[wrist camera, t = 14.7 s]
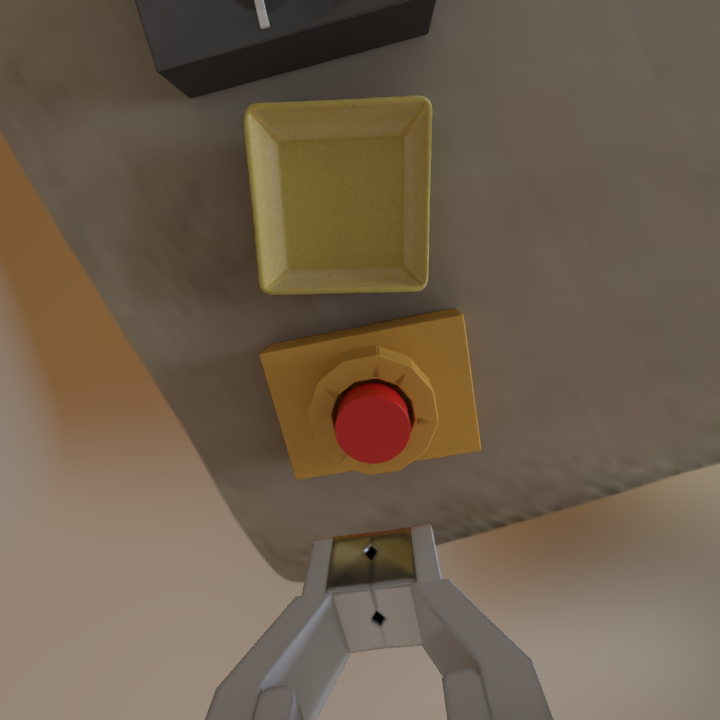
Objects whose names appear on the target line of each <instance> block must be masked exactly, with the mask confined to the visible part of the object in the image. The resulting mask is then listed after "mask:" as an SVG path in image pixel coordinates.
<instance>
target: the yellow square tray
mask: <svg viewBox="0 0 720 720" xmlns="http://www.w3.org/2000/svg"><path fill="white" fill-rule="evenodd" d="M432 111H433V108H432V104H431V102H430V101H429V99H427V98H426V97H424V96H416V95H414V96H399V97H374V98H360V99H339V100H318V101H317V100H316V101H294V102H292V101H287V102H265V103H262V102H259V103H252V104H250V105H249V106H248V107H247V108H246V110H245V112H244V117H243V125H244V136H245V145H246V153H247V164H248V172H249V184H250V193H251V203H252V210H253V224H254V231H255V245H256V254H257V265H258V277H259V287H260V288H261V290H262V291H263V292H264V293H266V294H270V295H288V294H289V295H294V294H331V293H374V292H418V291H421V290H422V289H424V288H425V286H426V285H427V282H428V270H429V269H428V265H429V217H430V208H429V205H430V176H431V137H432Z"/></svg>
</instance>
